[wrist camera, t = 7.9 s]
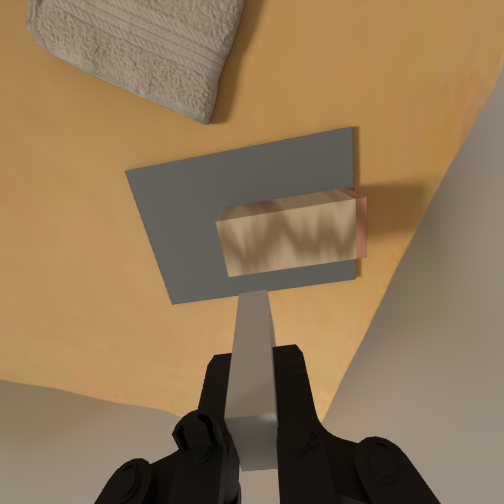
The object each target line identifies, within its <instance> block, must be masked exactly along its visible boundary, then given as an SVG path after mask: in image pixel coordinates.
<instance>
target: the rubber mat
mask: <svg viewBox="0 0 504 504" xmlns="http://www.w3.org/2000/svg"><path fill="white" fill-rule="evenodd" d="M125 173H126V176H127V179H128V182H129V185H130V187H131V190H132V193H133V196H134V199H135V201H136V204H137V207H138V210H139V213H140V216H141V218H142V221H143V224H144V227H145V230H146V232H147V235H148V238H149V241H150V244H151V246H152V249H153V252H154V255H155V258H156V261H157V263H158V266H159V269H160V272H161V275H162V277H163V280H164V283H165V286H166V289H167V291H168V294H169V297H170V300H171V303H172V305H173V304H181V303H188V302H195V301H202V300H209V299H217V298H224V297H231V296H238V295H239V294H241V293H248V292H255V291H262V290H267V291H274V290H281V289H288V288H296V287H303V286H310V285H317V284H324V283H331V282H339V281H346V280H353V279H356V262H355V259H352V260H345V261H338V262H331V263H324V264H317V265H310V266H303V267H296V268H289V269H282V270H275V271H268V272H261V273H254V274H247V275H240V276H233V277H229V276H228V272H227V268H226V264H225V259H224V255H223V251H222V247H221V243H220V238H219V234H218V230H217V226H216V220H217V219H218V217H219V215H220V214H221V212H222V211H223V209H224V208H228V207H234V206H240V205H245V204H251V203H257V202H263V201H269V200H275V199H281V198H287V197H293V196H299V195H304V194H310V193H316V192H322V191H328V190H334V189H340V188H348V189H350V190H352V191H354V183H353V143H352V127H347V128H342V129H337V130H332V131H327V132H322V133H317V134H312V135H306V136H301V137H296V138H291V139H286V140H281V141H276V142H271V143H266V144H261V145H256V146H250V147H245V148H240V149H235V150H230V151H225V152H220V153H215V154H210V155H205V156H199V157H194V158H189V159H184V160H179V161H174V162H169V163H164V164H159V165H154V166H149V167H143V168H138V169H133V170H128V171H125Z"/></svg>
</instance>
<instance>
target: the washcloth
mask: <svg viewBox="0 0 504 504" xmlns="http://www.w3.org/2000/svg"><path fill="white" fill-rule="evenodd" d="M244 2H245V0H28V11H27V22H26V28H27V30H28V31H30V32H31V33H32V34H33V36H34V38H35V40H36V41H37V42H38V43H39V45H40V46H41V47H42V48H44V49H45V50H46V51H48V52H49V53H50V54H52V55H53V56H55V57H57V58H59V59H61V60H63V61H66V62H68V63H70V64H72V65H73V66H76V67H78V68H80V69H81V70H82V71H84V72H86V73H88V74H91V75H93V76H95V77H97V78H99V79H101V80H103V81H106V82H108V83H111V84H113V85H115V86H118V87H120V88H123V89H125V90H127V91H129V92H131V93H133V94H135V95H137V96H139V97H143V98H145V99H148V100H150V101H153V102H155V103H158V104H160V105H162V106H164V107H166V108H168V109H171V110H172V111H175V112H177V113H180V114H182V115H184V116H186V117H189V118H191V119H193V120H195V121H198V122H200V123H202V124H205V125H209V122H210V119H211V117H212V114H213V109H214V105H215V101H216V97H217V91H218V87H219V86H218V81H219V77H220V75H221V72H222V68H223V67H224V63H225V59H226V57H227V55H229V53H230V51H231V48H232V45H233V42H234V38H235V35H236V33H237V27H238V24H239V23H240V17H241V14H242V10H243V8H244Z"/></svg>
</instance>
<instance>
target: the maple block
mask: <svg viewBox="0 0 504 504" xmlns="http://www.w3.org/2000/svg"><path fill="white" fill-rule="evenodd" d="M216 226H217V230H218V234H219V238H220V243H221V247H222V251H223V255H224V259H225V264H226V268H227V272H228V276H229V277H233V276H240V275H247V274H254V273H261V272H268V271H275V270H282V269H289V268H296V267H303V266H310V265H317V264H324V263H331V262H338V261H345V260H352V259H359V258H366V257H367V197H366V196H364V195H361V194H359V193H357V192H355V191H352V190H350V189H348V188H340V189H334V190H328V191H322V192H316V193H310V194H304V195H299V196H293V197H287V198H281V199H275V200H269V201H263V202H257V203H251V204H245V205H240V206H234V207H228V208H224V209H223V211H222V212H221V214H220V215H219V217H218V219H217V220H216Z"/></svg>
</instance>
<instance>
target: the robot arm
mask: <svg viewBox="0 0 504 504" xmlns="http://www.w3.org/2000/svg"><path fill="white" fill-rule="evenodd" d="M172 436H173V438H174V440H175V442H176V444H177V446H178V448H179V449H178V450H177V451H176V452H174V453H173V454H171V455H169V456H167V457H165V458H163V459H160V460H158V461H156V462H154V463H152V464H149V462H148V461H146V460H144V459H143V458H137V459H132V460H130V461H128V462H126V463H124V464H123V465H122V466H121V467H120V468H118V469H117V470H116V471H115V473H114V474H113V475H112V477H111V478H110V479H109V481H108V482H107V484H106V485H105V487H104V489H103V490H102V492H101V494H100V495H99V497H98V498H97V500H96V502H95V503H94V504H241V488H240V487H241V486H240V484H239V465H240V466H241V469H242V471H254V470H266V469H278V478H279V493H280V504H441V503H440V502H439V501H438V499H437V498H436V497H435V495H434V494H433V492H432V491H431V489H430V488H429V487H428V485H427V484H426V482H425V481H424V480H423V478H422V477H421V475H420V474H419V473H418V471H417V470H416V468H415V467H414V466H413V464H412V463H411V461H410V460H409V459H408V457H407V456H406V455H405V454H404V453H403V451H402V450H401V449H400V448H399V447H398V446H397V445H395V444H394V443H392V442H390V441H389V440H387V439H384V438H380V437H376V436H374V437H367V438H365V439H364V440H362V441H361V442H359V443H355V442H352V441H348V440H344V439H341V438H338V437H336V436H334V435H332V434H331V433H329V432H328V431H327V430H326V429H325V428H324V427H323V426H322V425H321V423H320V421H319V420H318V417H317V414H316V410H315V406H314V401H313V397H312V392H311V388H310V383H309V379H308V374H307V370H306V365H305V360H304V356H303V353H302V351H301V350H300V349H299V348H298V346H297V345H296V344H294V345H286V346H278V347H276V343H275V332H274V326H273V320H272V315H271V309H270V304H269V298H268V293H267V290H262V291H255V292H248V293H241V294H239V299H238V307H237V316H236V324H235V332H234V341H233V349H232V353H227V354H219V355H214V356H213V358H212V360H211V361H210V363H209V364H208V366H207V370H206V375H205V379H204V384H203V389H202V392H201V397H200V401H199V406H198V410H195V411H191V412H190V413H188V414H187V415H185V416H184V417H183V418H182V419H181V420H180V421H179V422H178V424H177V425H176V426H175V429H174V431H173V433H172Z"/></svg>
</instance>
